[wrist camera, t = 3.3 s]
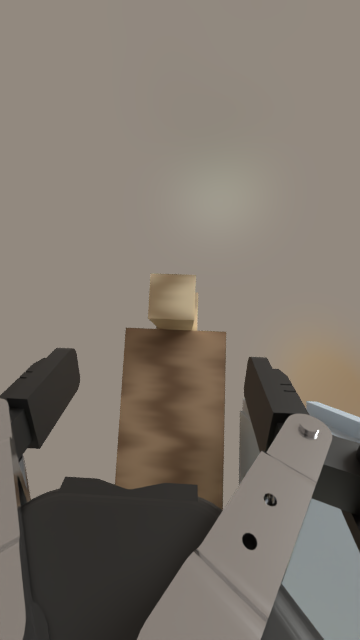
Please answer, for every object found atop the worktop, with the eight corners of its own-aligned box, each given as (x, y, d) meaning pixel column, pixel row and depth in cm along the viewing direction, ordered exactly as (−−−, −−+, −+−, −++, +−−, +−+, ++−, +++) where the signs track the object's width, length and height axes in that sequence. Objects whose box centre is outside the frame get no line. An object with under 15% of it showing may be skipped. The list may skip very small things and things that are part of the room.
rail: (139, 317, 18) (143, 256, 18) (160, 334, 33) (162, 300, 33) (203, 320, 18) (204, 258, 18) (195, 335, 33) (196, 301, 33)
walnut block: (99, 705, 22) (125, 327, 26) (120, 620, 29) (138, 333, 33) (218, 715, 22) (226, 331, 26) (210, 626, 28) (217, 336, 33)
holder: (267, 827, 16) (267, 420, 20) (236, 649, 26) (240, 398, 30) (412, 840, 16) (388, 426, 19) (326, 656, 26) (319, 402, 29)
